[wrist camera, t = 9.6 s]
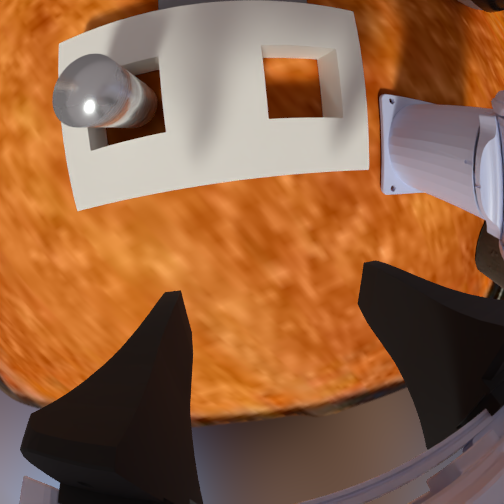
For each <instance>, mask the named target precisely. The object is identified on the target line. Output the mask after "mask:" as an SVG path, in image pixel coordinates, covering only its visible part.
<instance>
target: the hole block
mask: <svg viewBox="0 0 504 504" xmlns="http://www.w3.org/2000/svg"><path fill="white" fill-rule="evenodd" d="M94 53H97V54H103V55H106V56H108V57H109V58H111V59H112V60H114V61H115V62H116V63H118V64H119V65H121V66H122V67H123V68H125V69H126V70H127V71H129V72H130V73H131V74H133V75H134V76H135V75H139V74H143V73H147V72H151V71H156V70H160V81H161V92H162V102H163V111H164V120H165V128H166V132H164V133H159V134H154V135H150V136H145V137H141V138H136V139H132V140H128V141H124V142H120V143H117V144H113V145H109V146H108V142H107V135H106V127H81V128H76V127H70V126H67V125H65V124H64V123H62V122H61V124H62V133H63V140H64V147H65V154H66V160H67V166H68V171H69V176H70V181H71V186H72V190H73V195H74V199H75V203H76V207H77V211H80V210H84V209H88V208H92V207H96V206H100V205H104V204H109V203H113V202H117V201H122V200H126V199H131V198H136V197H141V196H145V195H151V194H156V193H161V192H166V191H172V190H177V189H183V188H189V187H195V186H201V185H208V184H215V183H222V182H229V181H236V180H244V179H252V178H261V177H270V176H280V175H290V174H302V173H315V172H330V171H349V170H369V138H368V117H367V102H366V91H365V81H364V72H363V65H362V57H361V51H360V44H359V38H358V33H357V27H356V22H355V17H354V13H353V11H349V10H344V9H339V8H334V7H328V6H322V5H315V4H307V3H297V2H286V1H265V0H241V1H221V2H209V3H199V4H191V5H184V6H178V7H172V8H167V9H162V10H157V11H152V12H148V13H144V14H140V15H136V16H132V17H129V18H125V19H122V20H119V21H115V22H112V23H109V24H106V25H103V26H101V27H98V28H95V29H93V30H90V31H87V32H85V33H82V34H80V35H78V36H75V37H73V38H71V39H68V40H66V41H64V42H62V43H60V44H59V66H58V71H59V77H60V75H61V73H62V72H63V71H64V70H65V68H66V67H67V66H68V65H69V64H71V63H72V62H73V61H75V60H76V59H78V58H80V57H82V56H84V55H87V54H94ZM263 58H303V59H317V63H318V71H319V80H320V90H321V100H322V112H323V118H277V119H269V116H268V106H267V96H266V86H265V76H264V67H263Z"/></svg>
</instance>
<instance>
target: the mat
mask: <svg viewBox="0 0 504 504" xmlns="http://www.w3.org/2000/svg"><path fill="white" fill-rule="evenodd" d="M221 1H241V0H158V9H159V10H162V9H167V8H172V7H178V6H184V5H191V4H199V3H209V2H221ZM265 1H286V2H297V3H307V0H265Z"/></svg>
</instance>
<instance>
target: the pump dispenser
mask: <svg viewBox="0 0 504 504" xmlns="http://www.w3.org/2000/svg"><path fill="white" fill-rule="evenodd" d="M457 1H459V2H460V3H462V4H464V5H466V6H468V7H471V8H474V9H478V10H484V11H486V12H489V13H491V12H498V11H502V10H504V0H457Z"/></svg>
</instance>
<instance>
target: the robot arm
mask: <svg viewBox="0 0 504 504" xmlns="http://www.w3.org/2000/svg"><path fill="white" fill-rule="evenodd" d="M389 99H391V101H392V102H391V103H390V101H389ZM491 103H492V107H493V109H487V108H479V107H469V106H456V105H437V104H433V103H429V102H425V101H421V100H416V99H411V98H406V97H401V96H395V95H390V94H382V95H380V97H379V104H380V119H381V149H382V170H381V191H382V192H383V193H384V194H386V195H391V194H406V193H423V192H425V193H427V194H430V195H432V196H435V197H437V198H439V199H442V200H444V201H446V202H448V203H451V204H453V205H455V206H457V207H459V208H462V209H464V210H466V211H468V212H470V213H472V214H474V215H476V216H478V217H480V218H482V219H484V220H486V223H487V232H488V233H489V234H491V235H493V236H495V237H496V238H498V239H499V249H500V253H501V255H502V257H503V259H504V90H503V91H499V92H498V93H497V95H496V96H495V98H493V99H492V101H491ZM391 186H393V188H392V190H391ZM358 305H359V308H360V310H361V312H362V314H363V316H364V317H365V319H366V321H367V323H368V324H369V326H370V327H371V329H372V330H373V332H374V333H375V335H376V336H377V337H378V339H379V340H380V342H381V343H382V344H383V346H384V347H385V349H386V350H387V352H388V353H389V355H390V356H391V357H392V359H393V360H394V362H395V364H396V365H397V367H398V369H399V371H400V373H401V375H402V377H403V379H404V381H405V383H406V385H407V387H408V390H409V392H410V394H411V397H412V399H413V402H414V404H415V407H416V410H417V413H418V416H419V419H420V422H421V426H422V430H423V434H424V438H425V442H426V447H427V449H428V450H427V451H425V452H424V453H422V454H421V455H419V456H417V457H415V458H413V459H412V460H410V461H408V462H406V463H404V464H402V465H400V466H398V467H396V468H394V469H392V470H390V471H388V472H386V473H384V474H381V475H379V476H377V477H374V478H372V479H370V480H367V481H365V482H362V483H360V484H357V485H355V486H352V487H349V488H347V489H344V490H341V491H338V492H335V493H332V494H329V495H325V496H322V497H319V498H315V499H312V500H307V501H303V502H300V503H295V504H365V503H367V502H369V501H372V500H374V499H376V498H379V497H381V496H383V495H385V494H387V493H389V492H391V491H393V490H395V489H397V488H399V487H401V486H403V485H405V484H407V483H409V482H410V481H412V480H414V479H416V478H418V477H419V476H421V475H423V474H424V473H426V472H428V471H429V470H431V469H433V468H434V467H436V466H437V465H439V464H440V463H442V462H443V461H445V460H446V459H448V458H449V457H451V456H452V455H453V454H455V453H456V452H457V451H459V450H460V449H461V448H463V447H464V448H463V454H461V455H460V456H459V457H458V458H456V459H455V460H454V461H453V462H451V463H450V464H449V465H447V466H446V467H445V468H443V469H442V470H441V471H439V472H438V473H436V474H435V475H434V476H432V477H430V478H429V479H428V480H427V484H428V486H429V488H430V491H428V492H427V493H425V494H423V495H422V496H420V497H418V498H417V499H415V500H413V501H411V502H409V503H408V504H504V300H497V299H490V298H484V297H479V296H475V295H470V294H466V293H463V292H459V291H456V290H452V289H449V288H446V287H443V286H441V285H438V284H435V283H433V282H430V281H428V280H425V279H423V278H420V277H418V276H415V275H413V274H411V273H408V272H406V271H403V270H401V269H399V268H396V267H394V266H391V265H388V264H386V263H383V262H379V261H371V262H366V263H364V265H363V273H362V280H361V286H360V293H359V299H358ZM192 364H193V345H192V331H191V328H190V324H189V320H188V317H187V313H186V309H185V305H184V301H183V297H182V293H181V291H173V292H165V293H164V294H163V296H162V297H161V298H160V299H159V301H158V302H157V303H156V305H155V306H154V308H153V309H152V310H151V312H150V313H149V314H148V316H147V317H146V318H145V320H144V321H143V322H142V324H141V325H140V326H139V328H138V329H137V330H136V331H135V332H134V334H133V335H132V336H131V337H130V338H129V339H128V341H127V342H126V343H125V344H124V345H123V346H122V347H121V349H120V350H119V351H118V352H117V353H116V354H115V355H114V356H113V357H112V358H111V359H110V360H109V361H108V362H106V363H105V364H104V365H103V366H102V367H101V368H100V369H98V370H97V371H96V372H95V373H94V374H92V375H91V376H90V377H89V378H88V379H87V380H85V381H84V382H83V383H81V384H80V385H79V386H77V387H76V388H74V389H73V390H72V391H70V392H69V393H67V394H66V395H64V396H63V397H61V398H59V399H58V400H56V401H54V402H52V403H51V404H49V405H47V406H45V407H43V408H41V409H40V410H38V411H36V412H34V413H32V414H31V416H30V418H29V421H28V424H27V428H26V430H25V434H24V437H23V440H22V444H21V448H20V450H21V452H22V454H23V456H24V457H25V458H26V459H27V460H28V461H29V462H30V463H31V464H33V465H34V466H36V467H37V468H38V469H40V470H41V471H43V472H44V473H46V474H47V475H49V476H50V477H52V478H54V479H55V480H57V481H59V482H60V488H59V490H58V489H56V488H54V487H52V486H49V485H47V484H44V483H42V482H39V481H37V480H34V479H32V478H29V477H27V476H24V478H23V483H22V489H21V496H20V503H19V504H203V501H202V496H201V492H200V486H199V481H198V475H197V470H196V463H195V457H194V448H193V440H192V430H191V418H190V398H191V380H192Z"/></svg>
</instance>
